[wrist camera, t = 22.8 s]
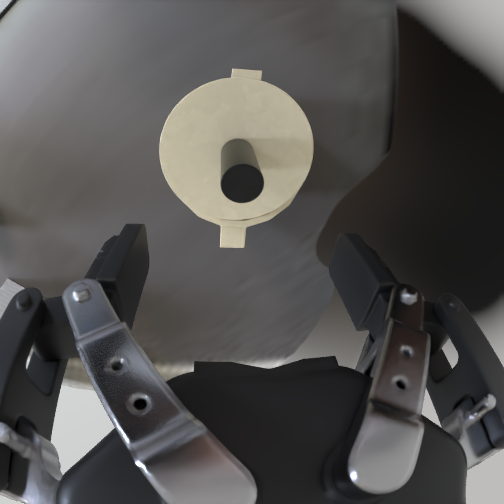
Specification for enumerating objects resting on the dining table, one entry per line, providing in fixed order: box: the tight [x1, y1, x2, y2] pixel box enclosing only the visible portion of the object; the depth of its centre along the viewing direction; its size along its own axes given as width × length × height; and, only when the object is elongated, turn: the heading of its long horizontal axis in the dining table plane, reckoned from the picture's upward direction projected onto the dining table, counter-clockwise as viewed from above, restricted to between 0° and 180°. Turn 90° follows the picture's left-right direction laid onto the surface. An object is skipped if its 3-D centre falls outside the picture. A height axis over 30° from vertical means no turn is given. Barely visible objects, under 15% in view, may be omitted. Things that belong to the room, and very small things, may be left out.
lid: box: [159, 77, 314, 220], centre depth 19 cm, size 12×12×7 cm
